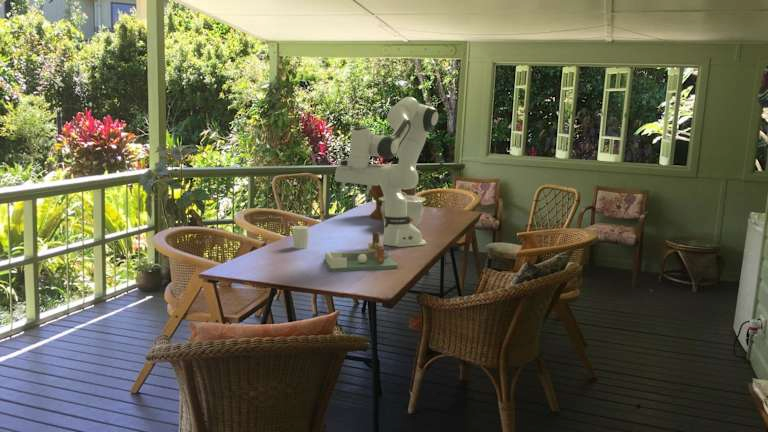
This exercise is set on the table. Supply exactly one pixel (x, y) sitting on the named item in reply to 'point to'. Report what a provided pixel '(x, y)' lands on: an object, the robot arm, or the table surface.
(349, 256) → the rail
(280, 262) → the table surface
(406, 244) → the robot arm
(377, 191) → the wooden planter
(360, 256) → the ball
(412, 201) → the chamber pot
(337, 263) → the pitch
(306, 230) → the white cup
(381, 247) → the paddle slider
